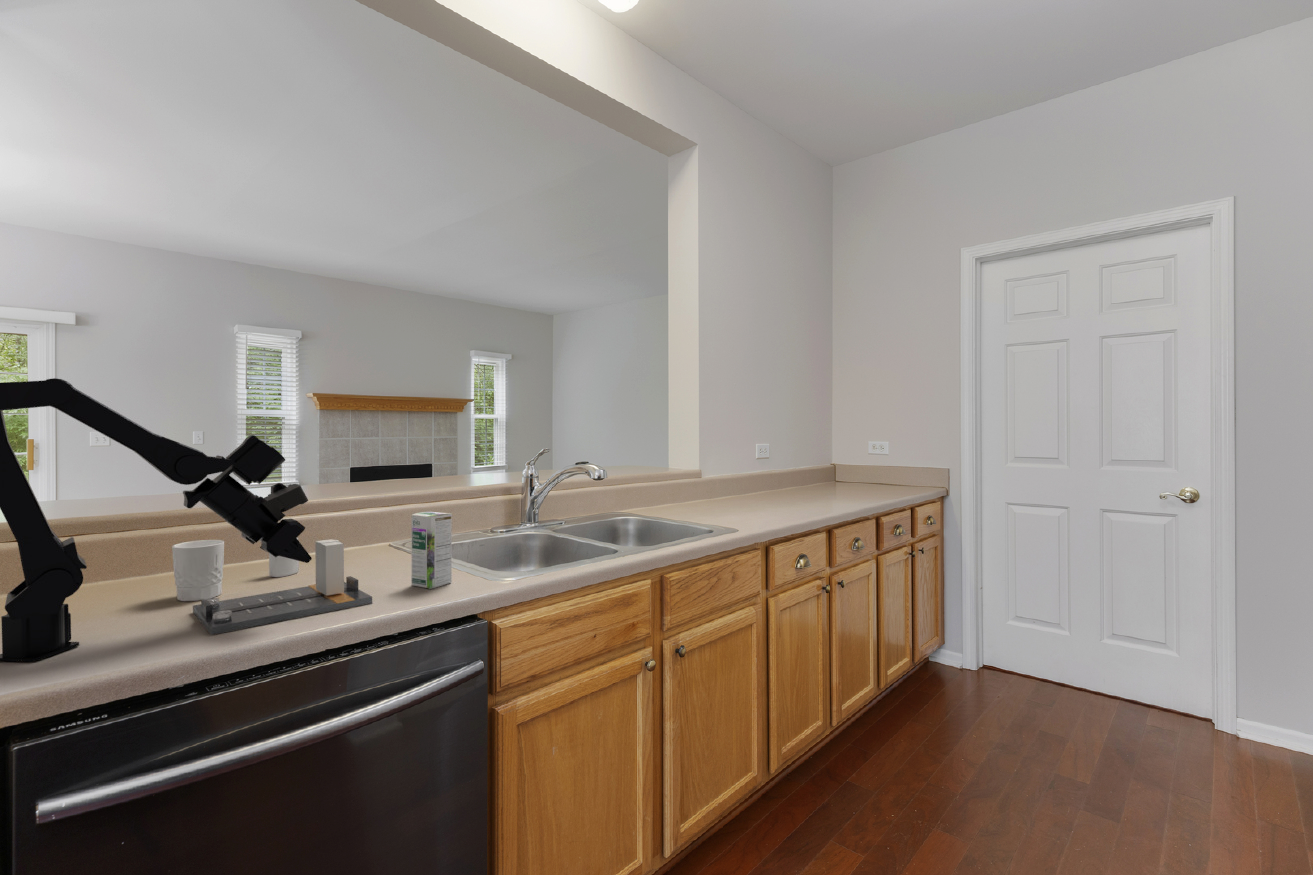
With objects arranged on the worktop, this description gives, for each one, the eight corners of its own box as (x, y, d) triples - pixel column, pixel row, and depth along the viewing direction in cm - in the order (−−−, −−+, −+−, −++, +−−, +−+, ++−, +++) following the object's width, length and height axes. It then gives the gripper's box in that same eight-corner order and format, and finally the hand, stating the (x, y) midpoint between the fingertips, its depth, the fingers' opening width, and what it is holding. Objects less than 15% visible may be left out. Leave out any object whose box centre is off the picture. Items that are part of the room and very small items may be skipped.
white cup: (197, 603, 112) (196, 548, 111) (161, 601, 113) (160, 546, 113) (235, 592, 119) (234, 540, 119) (201, 589, 121) (200, 538, 121)
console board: (211, 635, 95) (210, 614, 95) (192, 612, 106) (192, 593, 106) (372, 603, 112) (372, 585, 112) (341, 586, 123) (341, 570, 123)
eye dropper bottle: (268, 574, 133) (267, 519, 133) (298, 570, 136) (297, 516, 136) (269, 578, 130) (269, 521, 129) (300, 574, 133) (299, 519, 133)
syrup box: (410, 586, 124) (409, 513, 123) (433, 579, 129) (432, 510, 129) (430, 589, 121) (429, 515, 121) (453, 582, 126) (452, 512, 126)
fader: (326, 595, 111) (325, 544, 111) (315, 589, 115) (314, 540, 115) (344, 592, 113) (343, 542, 113) (333, 586, 117) (332, 538, 117)
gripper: (290, 472, 101) (361, 532, 109) (261, 466, 114) (326, 520, 122) (233, 525, 96) (312, 584, 104) (210, 513, 109) (281, 565, 117)
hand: (309, 560), depth 112 cm, fingers closed
